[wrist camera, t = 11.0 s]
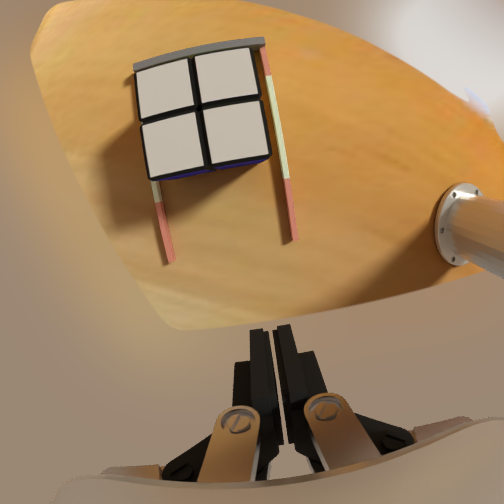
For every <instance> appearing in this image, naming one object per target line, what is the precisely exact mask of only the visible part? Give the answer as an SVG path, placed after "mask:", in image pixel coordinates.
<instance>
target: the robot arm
mask: <svg viewBox="0 0 504 504" xmlns="http://www.w3.org/2000/svg"><path fill="white" fill-rule="evenodd" d="M434 232H435V241H436V245H437V248H438V251H439V253H440V255H441V256H442V258H443V259H444V260H446V261H447V262H449V263H450V264H452V265H456V266H462V265H465V264H467V263H469V262H471V263H473V264H475V265H477V266H479V267H481V268H483V269H485V270H487V271H489V272H491V273H493V274H495V275H497V276H499V277H501V278H502V279H504V201H502V200H497V199H493V198H488V197H484V196H483V194H482V192H481V191H480V190H479V189H478V188H477V187H476V186H475V185H473V184H470V183H458V184H455V185H453V186H452V187H451V188H449V190H448V191H447V192H446V193H445V195H444V196H443V198H442V199H441V202H440V204H439V206H438V210H437V213H436V219H435V231H434ZM273 338H274V345H275V352H276V359H277V366H278V372H279V380H280V387H281V393H282V401H283V407H284V414H285V421H286V428H287V435H288V442H289V444H291V443H294V445H295V450H296V451H297V452H299V453H300V454H303V455H304V456H306V459H307V462H308V465H309V467H310V470H311V472H312V474H309V475H303V476H296V477H290V478H283V479H274V480H269V477H270V469H271V460H273V459H274V457H276V456H277V455H278V454H279V445H284V440H283V432H282V425H281V416H280V409H279V402H278V394H277V385H276V378H275V372H274V365H273V359H272V352H271V346H270V339H269V332H268V331H265V332H263V329H262V328H261V329H255V330H250V361H243V362H236V363H235V366H234V367H235V368H234V385H233V403H232V407H230V408H228V409H226V410H224V411H223V412H222V413H221V414H220V415H219V416H218V418H217V420H216V423H215V426H214V430H213V433H212V434H211V435H209V436H208V437H207V438H205V439H204V440H202V441H201V442H199V443H198V444H196V445H195V446H194V447H192V448H191V449H189V450H187V451H186V452H184V453H183V454H181V455H180V456H178V457H177V458H175V459H174V460H172V461H170V462H169V463H168V464H167V465H166V466H162V467H160V466H159V465H158V464H157V465H145V466H127V467H110V468H107V469H105V470H104V471H103V472H102V473H101V474H99V475H87V476H80V477H76V478H72V479H70V480H68V481H66V482H65V483H64V484H62V486H61V487H60V488H59V489H58V491H57V492H56V494H55V495H54V497H53V499H52V501H51V503H50V504H504V417H488V418H483V419H478V420H471V419H470V418H469V417H464V416H462V417H456V418H452V419H448V420H444V421H440V422H436V423H432V424H427V425H423V426H418V427H414V429H413V430H410V431H407V430H405V429H403V428H400V427H397V426H393V425H390V424H386V423H384V422H380V421H377V420H374V419H371V418H368V417H365V416H362V415H359V414H356V413H354V412H353V411H352V409H351V408H350V406H349V404H348V403H347V401H346V400H345V399H344V398H343V397H342V396H340V395H338V394H334V393H328V392H327V389H326V386H325V383H324V380H323V377H322V374H321V371H320V368H319V366H318V362H317V359H316V357H315V354H314V351H309V352H304V353H297V349H296V345H295V341H294V338H293V334H292V330H291V326H290V324H287V325H281V326H277V330H273Z"/></svg>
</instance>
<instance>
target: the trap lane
mask: <svg viewBox="0 0 504 504" xmlns="http://www.w3.org/2000/svg"><path fill="white" fill-rule="evenodd" d="M246 46H248V47H250V48H252V49H253V51H259V54H260V58H261V63H262V68H263V73H264V77H265V82H266V87H267V93H268V98H269V103H270V108H271V114H272V119H273V124H274V130H275V136H276V141H277V147H278V153H279V159H280V165H281V172H282V178H283V184H284V191H285V197H286V204H287V211H288V218H289V225H290V233H291V239H292V240H293V241H297V240H298V233H297V225H296V218H295V211H294V204H293V197H292V190H291V183H290V177H289V170H288V164H287V158H286V152H285V146H284V140H283V134H282V129H281V123H280V118H279V112H278V107H277V102H276V97H275V91H274V87H273V82H272V77H271V72H270V67H269V63H268V58H267V54H266V49H265V39H264V37H254V38H245V39H237V40H230V41H223V42H217V43H212V44H206V45H201V46H196V47H192V48H187V49H183V50H179V51H175V52H171V53H167V54H164V55H160V56H157V57H153V58H150V59H147V60H143V61H140V62H137V63H134V64H133V71H134V72H135V73H136V72H137V71H138V70H141V69H144V68H148V67H151V66H154V65H158V64H161V63H165V62H168V61H172V60H176V59H180V58H184V57H189V58H190V59H192V58H193V57H194V55H197V54H202V53H207V52H213V51H218V50H224V49H231V48H238V47H246ZM142 123H143V122H141V125H142ZM150 181H151V180H150ZM151 186H152V191H153V196H154V201H155V206H156V211H157V215H158V220H159V224H160V229H161V233H162V238H163V242H164V246H165V250H166V254H167V258H168V262H174V260H175V259H176V258H175V254H174V250H173V245H172V241H171V237H170V233H169V228H168V224H167V219H166V214H165V210H164V205H163V200H162V195H161V190H160V185H159V181H151Z"/></svg>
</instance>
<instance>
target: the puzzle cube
mask: <svg viewBox="0 0 504 504" xmlns="http://www.w3.org/2000/svg"><path fill="white" fill-rule="evenodd" d="M134 80H135V91H136V100H137V109H138V117H139V121H141V122H143V123H142V125H141V126H140V133H141V140H142V147H143V153H144V159H145V165H146V171H147V176H148V179H149V180H151V181H161V180H171V179H179V178H183V177H188V176H193V175H197V174H202V173H207V172H212V171H216V169H220V170H222V169H227V168H233V167H239V166H244V165H250V164H256V163H261V162H263V161H265V160H267V159H269V158H270V156H271V155H272V149H271V143H270V137H269V131H268V126H267V120H266V115H265V110H264V104H263V101H262V100H260V98H261V95H262V93H261V88H260V83H259V78H258V73H257V68H256V63H255V58H254V54H253V49H252V48H250V47H248V46H246V47H238V48H231V49H224V50H218V51H213V52H207V53H202V54H197V55H194V57H193V58H192V59H190V58H189V57H184V58H180V59H176V60H172V61H168V62H165V63H161V64H158V65H154V66H151V67H148V68H144V69H141V70H138V71H137V72H136V73H135V74H134Z"/></svg>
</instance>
